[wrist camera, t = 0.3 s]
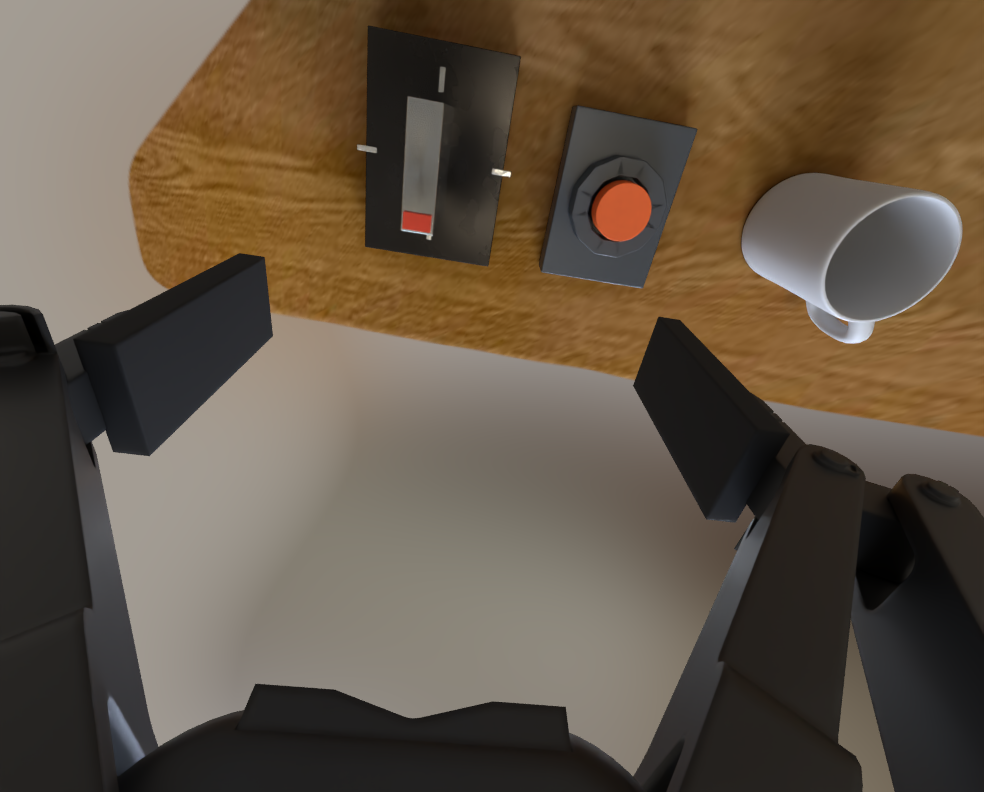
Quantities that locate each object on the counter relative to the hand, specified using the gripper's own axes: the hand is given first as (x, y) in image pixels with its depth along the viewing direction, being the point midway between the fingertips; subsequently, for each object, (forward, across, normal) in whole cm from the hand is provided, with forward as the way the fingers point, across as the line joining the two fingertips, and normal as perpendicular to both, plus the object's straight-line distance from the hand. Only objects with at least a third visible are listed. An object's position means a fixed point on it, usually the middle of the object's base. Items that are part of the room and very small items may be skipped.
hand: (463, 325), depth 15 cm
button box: (+26, +10, +2) cm, 28 cm away
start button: (+22, +10, +2) cm, 24 cm away
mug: (+26, +27, +1) cm, 38 cm away
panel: (+26, -4, +3) cm, 26 cm away
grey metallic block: (+23, -4, +3) cm, 23 cm away
